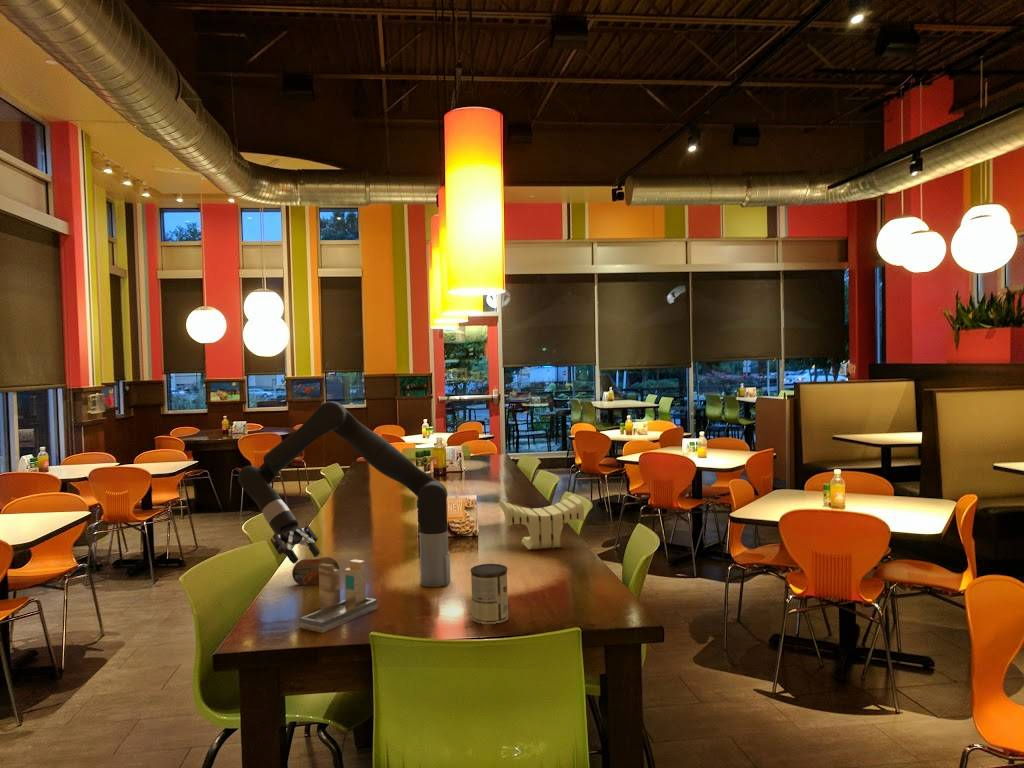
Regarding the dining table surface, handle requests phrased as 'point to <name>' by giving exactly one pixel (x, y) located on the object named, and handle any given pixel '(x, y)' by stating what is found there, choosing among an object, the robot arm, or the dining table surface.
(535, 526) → the slatted curved stool
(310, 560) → the tin
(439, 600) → the dining table surface
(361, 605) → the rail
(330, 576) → the maple finger
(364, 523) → the dining table surface
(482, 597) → the coffee can
